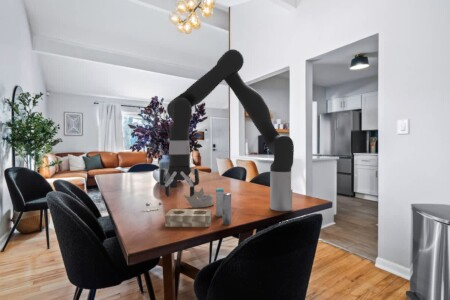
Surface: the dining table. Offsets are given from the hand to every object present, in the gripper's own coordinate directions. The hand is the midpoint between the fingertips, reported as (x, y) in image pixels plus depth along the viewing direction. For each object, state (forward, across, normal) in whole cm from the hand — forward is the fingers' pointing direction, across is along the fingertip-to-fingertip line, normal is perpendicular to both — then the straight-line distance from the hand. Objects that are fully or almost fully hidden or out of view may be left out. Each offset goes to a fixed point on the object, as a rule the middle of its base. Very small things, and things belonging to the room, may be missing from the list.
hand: (179, 196), depth 89 cm
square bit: (+10, -14, -10) cm, 20 cm away
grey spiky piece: (+10, -4, -26) cm, 29 cm away
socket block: (+10, -4, 0) cm, 11 cm away
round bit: (+10, -18, 0) cm, 20 cm away
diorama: (+11, +18, -26) cm, 33 cm away
